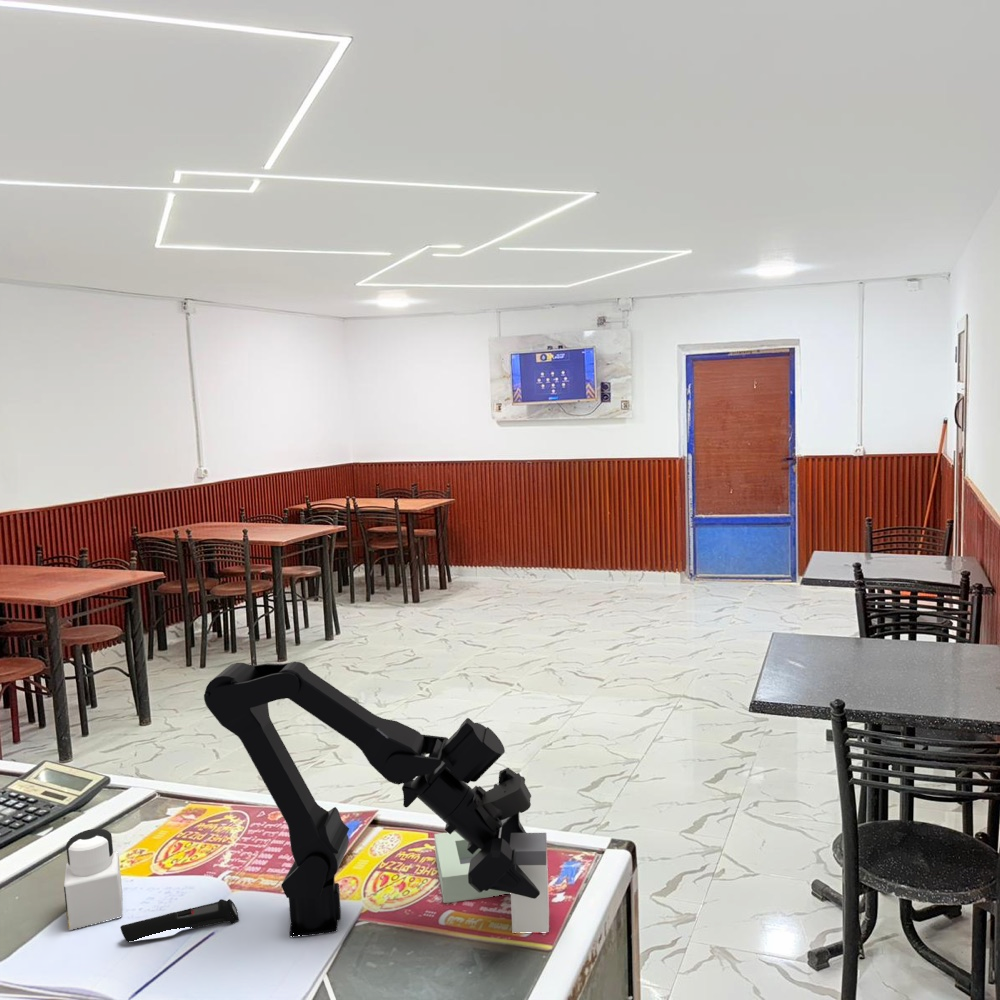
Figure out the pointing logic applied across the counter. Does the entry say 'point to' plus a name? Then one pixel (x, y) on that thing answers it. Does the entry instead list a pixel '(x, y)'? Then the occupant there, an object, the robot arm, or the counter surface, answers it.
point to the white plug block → (534, 864)
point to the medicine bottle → (92, 879)
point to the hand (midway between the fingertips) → (538, 876)
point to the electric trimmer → (183, 920)
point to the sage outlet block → (456, 869)
